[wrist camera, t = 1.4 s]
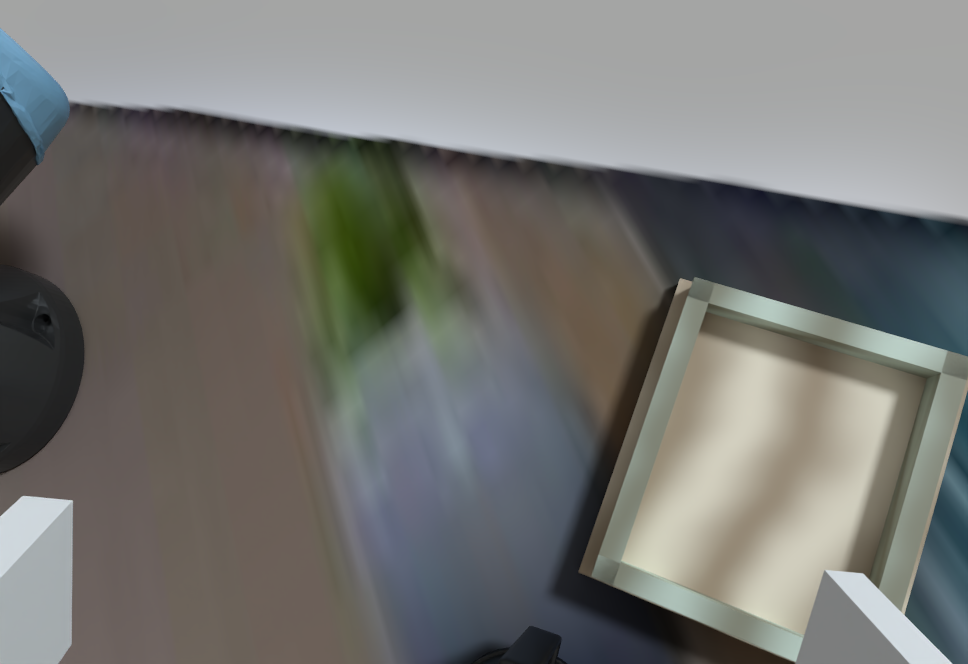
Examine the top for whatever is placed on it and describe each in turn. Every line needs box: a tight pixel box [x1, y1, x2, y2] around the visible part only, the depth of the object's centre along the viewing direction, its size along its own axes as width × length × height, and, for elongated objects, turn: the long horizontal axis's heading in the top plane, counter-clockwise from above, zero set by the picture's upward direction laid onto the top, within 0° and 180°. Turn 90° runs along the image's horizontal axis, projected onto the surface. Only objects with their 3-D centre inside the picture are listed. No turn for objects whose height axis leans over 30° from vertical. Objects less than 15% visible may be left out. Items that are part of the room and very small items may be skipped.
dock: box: [579, 277, 968, 663], centre depth 40 cm, size 16×18×3 cm
